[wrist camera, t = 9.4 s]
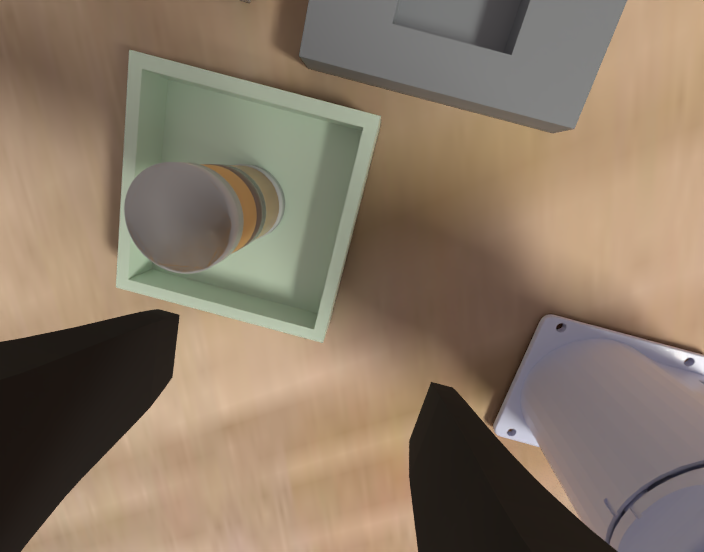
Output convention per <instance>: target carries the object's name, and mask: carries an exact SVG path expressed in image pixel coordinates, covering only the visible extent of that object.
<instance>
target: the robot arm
mask: <svg viewBox="0 0 704 552" xmlns="http://www.w3.org/2000/svg"><path fill="white" fill-rule="evenodd" d="M560 323H563V326H562V327H561V328H560V329H556V326H557V325H558V324H560ZM178 324H179V315H178V314H174V313H171V312H167V311H163V310H159V309H156V310H149V311H144V312H139V313H134V314H130V315H125V316H121V317H117V318H112V319H108V320H104V321H100V322H95V323H91V324H87V325H83V326H79V327H74V328H69V329H64V330H60V331H55V332H50V333H45V334H40V335H35V336H31V337H26V338H20V339H15V340H9V341H3V342H0V552H21V551H22V549H23V548H24V547H25V545H26V544H27V543H28V542H29V540H30V539H31V538H32V537H33V535H34V534H35V533H36V532H37V530H38V529H39V528H40V527H41V526H42V524H43V523H44V522H45V521H46V519H47V518H48V517H49V516H50V515H51V513H52V512H53V511H54V510H55V508H56V507H57V506H58V505H59V504H60V502H61V501H62V500H63V499H64V497H65V496H66V495H67V494H68V493H69V492H70V491H71V490H72V489H73V487H74V486H75V485H76V484H77V483H78V482H79V481H80V480H81V479H82V478H83V477H84V476H85V474H86V473H87V472H88V471H89V470H90V469H91V468H92V467H93V466H94V465H95V464H96V463H97V462H98V461H99V460H100V459H101V458H102V457H103V456H104V455H105V454H106V453H107V452H108V451H109V450H110V449H111V448H112V447H113V446H114V445H115V444H116V443H117V442H118V440H119V439H120V438H121V437H122V436H123V435H124V434H125V433H126V432H127V431H128V430H129V429H130V428H131V427H132V426H133V425H134V424H135V423H136V422H137V421H138V420H139V419H140V418H141V417H142V416H143V414H144V413H145V412H146V411H147V410H148V409H149V408H150V407H151V406H152V404H153V403H154V402H155V400H156V399H157V398H158V396H159V395H160V394H161V392H162V391H163V390H164V388H165V387H166V385H167V384H168V383H169V381H170V380H171V378H172V376H173V367H174V358H175V350H176V341H177V332H178ZM687 358H688V360H687V361H686V362H684V361H685V360H686V359H687ZM493 429H494V431H495V433H496V434H497V435H498V436H501V437H504V438H508V439H512V440H515V441H519V442H523V443H527V444H530V445H534V446H538V447H540V448H541V450H542V452H543V454H544V455H545V457H546V459H547V461H548V462H549V464H550V466H551V468H552V470H553V471H554V473H555V475H556V477H557V478H558V480H559V482H560V484H561V486H562V487H563V489H564V491H565V493H566V494H567V496H568V498H569V500H570V502H571V503H572V505H573V507H574V509H575V510H576V512H577V514H578V516H579V518H580V519H581V521H580V520H579V519H578V518H577V517H576V516H575V515H574V514H573V513H571V512H570V511H569V510H568V509H567V508H566V507H565V506H564V505H563V504H562V503H561V502H559V501H558V500H557V499H556V498H555V497H554V496H553V495H552V494H551V493H550V492H548V491H547V490H546V489H545V488H544V487H543V486H542V485H541V484H540V483H539V482H538V481H537V480H536V479H535V478H534V477H533V476H532V475H531V474H530V473H529V472H528V471H527V470H526V469H525V468H524V467H523V465H522V464H521V463H520V462H519V461H518V460H517V459H516V458H515V457H514V456H513V455H512V454H511V453H510V452H509V451H508V450H507V448H506V447H505V446H504V445H503V444H502V443H501V442H500V441H499V440H498V439H497V437H496V436H495V435H494V434H493V433H492V432H491V431H490V429H489V428H488V427H487V426H486V425H485V424H484V422H483V421H482V420H481V419H480V418H479V417H478V415H477V414H476V413H475V412H474V411H473V410H472V408H471V407H470V406H469V405H468V404H467V403H466V401H465V400H464V399H463V398H462V397H461V396H460V395H459V394H458V392H457V391H456V390H455V389H454V388H452V387H448V386H444V385H441V384H437V383H433V382H431V384H430V387H429V389H428V392H427V395H426V398H425V400H424V403H423V406H422V408H421V411H420V414H419V416H418V419H417V422H416V424H415V427H414V430H413V432H412V435H411V438H410V441H409V478H410V488H411V496H412V505H413V513H414V521H415V529H416V537H417V545H418V552H704V355H703V354H699V353H695V352H692V351H688V350H684V349H680V348H677V347H673V346H669V345H665V344H662V343H658V342H654V341H650V340H647V339H643V338H639V337H635V336H632V335H628V334H624V333H621V332H617V331H613V330H609V329H606V328H602V327H598V326H594V325H591V324H587V323H583V322H579V321H576V320H572V319H568V318H564V317H561V316H557V315H553V314H548V315H545V316H544V317H542V319H541V320H540V322H539V324H538V327H537V329H536V331H535V333H534V335H533V338H532V340H531V342H530V344H529V347H528V349H527V351H526V353H525V355H524V358H523V360H522V362H521V364H520V366H519V369H518V371H517V373H516V375H515V378H514V380H513V382H512V384H511V386H510V389H509V391H508V393H507V395H506V397H505V400H504V402H503V404H502V406H501V409H500V411H499V413H498V415H497V417H496V420H495V422H494V424H493ZM509 429H513V430H512V431H508V430H509Z"/></svg>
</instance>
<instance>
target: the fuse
mask: <svg viewBox="0 0 704 552" xmlns="http://www.w3.org/2000/svg"><path fill="white" fill-rule="evenodd" d="M284 211H285V197H284V193H283V190H282V187H281V185H280V184H279V182H278V181H277V179H276V178H275V177H274V176H273V175H272V174H271V173H270V172H268V171H267V170H265V169H263V168H261V167H259V166H255V165H248V164H236V165H224V164H196V163H186V162H164V163H158V164H155V165H152V166H150V167H148V168H146V169H145V170H143V171H142V172H141V173H140V174H138V175H137V176H136V178H135V179H134V180H133V181H132V183H131V185H130V187H129V189H128V191H127V194H126V198H125V204H124V216H125V222H126V226H127V229H128V232H129V234H130V236H131V238H132V240H133V242H134V244H135V245H136V246H137V248H138V249H139V250H140V251H141V253H142V254H143V255H144V256H145V257H146V258H148V259H149V260H150V261H151V262H153V263H154V264H156V265H157V266H159V267H161V268H163V269H166V270H168V271H171V272H175V273H181V274H191V273H198V272H202V271H204V270H207V269H209V268H210V267H212V266H214V265H216V264H217V263H219V262H221V261H222V260H224V259H225V258H227V257H228V256H229V255H230V254H232V253H234V252H236V251H238V250H240V249H241V248H243V247H245V246H246V245H248V244H250V243H251V242H252V241H254V240H256V239H259V238H261V237H263V236H265V235H267V234H268V233H270V232H272V231H273V230H274V229H275V228H276V227H277V226H278V225H279V223H280V222H281V220H282V218H283V215H284Z"/></svg>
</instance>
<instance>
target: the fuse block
mask: <svg viewBox="0 0 704 552" xmlns="http://www.w3.org/2000/svg"><path fill="white" fill-rule="evenodd" d="M626 2H627V0H309V3H308V9H307V14H306V20H305V25H304V31H303V36H302V42H301V47H300V53H299V57H300V58H301V60H302V61H303V62H304V64H305V65H306V66H307V68H308V69H312V70H316V71H319V72H323V73H327V74H331V75H335V76H338V77H342V78H346V79H350V80H353V81H357V82H361V83H365V84H369V85H372V86H376V87H380V88H384V89H387V90H391V91H395V92H399V93H403V94H406V95H410V96H414V97H418V98H421V99H425V100H429V101H433V102H437V103H440V104H444V105H448V106H452V107H455V108H459V109H463V110H467V111H471V112H474V113H478V114H482V115H486V116H489V117H493V118H497V119H501V120H505V121H508V122H512V123H516V124H520V125H523V126H527V127H531V128H535V129H539V130H542V131H546V132H550V133H557V132H562V131H567V130H571V129H574V128H575V126H576V124H577V121H578V119H579V116H580V114H581V111H582V109H583V107H584V104H585V102H586V99H587V97H588V94H589V92H590V90H591V87H592V85H593V82H594V80H595V77H596V75H597V72H598V70H599V68H600V65H601V63H602V60H603V58H604V55H605V53H606V51H607V48H608V46H609V43H610V41H611V38H612V36H613V34H614V31H615V29H616V26H617V24H618V21H619V19H620V16H621V14H622V12H623V9H624V7H625V4H626Z"/></svg>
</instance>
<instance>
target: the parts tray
mask: <svg viewBox="0 0 704 552" xmlns="http://www.w3.org/2000/svg"><path fill="white" fill-rule="evenodd" d="M380 125H381V116H378V115H375V114H371V113H367V112H363V111H359V110H356V109H352V108H348V107H344V106H341V105H337V104H333V103H329V102H326V101H322V100H318V99H314V98H310V97H307V96H303V95H299V94H295V93H292V92H288V91H284V90H280V89H276V88H273V87H269V86H265V85H261V84H258V83H254V82H250V81H246V80H243V79H239V78H235V77H231V76H227V75H224V74H220V73H216V72H212V71H209V70H205V69H201V68H197V67H193V66H190V65H186V64H182V63H178V62H175V61H171V60H167V59H163V58H160V57H156V56H152V55H148V54H144V53H141V52H137V51H133V50H129V62H128V80H127V98H126V116H125V133H124V151H123V169H122V187H121V205H120V223H119V241H118V259H117V277H116V287H117V288H120V289H124V290H128V291H132V292H135V293H139V294H143V295H147V296H150V297H154V298H158V299H161V300H165V301H169V302H173V303H176V304H180V305H184V306H187V307H191V308H195V309H199V310H202V311H206V312H210V313H213V314H217V315H221V316H225V317H228V318H232V319H236V320H239V321H243V322H247V323H251V324H254V325H258V326H262V327H266V328H269V329H273V330H277V331H280V332H284V333H288V334H292V335H295V336H299V337H303V338H306V339H310V340H314V341H318V342H321V343H323V341H324V338H325V335H326V333H327V330H328V327H329V324H330V320H331V316H332V312H333V308H334V305H335V301H336V297H337V293H338V289H339V285H340V281H341V277H342V273H343V270H344V266H345V262H346V258H347V254H348V250H349V246H350V242H351V238H352V235H353V231H354V227H355V223H356V219H357V215H358V211H359V207H360V203H361V199H362V196H363V192H364V188H365V184H366V180H367V176H368V172H369V168H370V164H371V161H372V157H373V153H374V149H375V145H376V141H377V137H378V133H379V129H380ZM164 162H186V163H196V164H224V165H236V164H248V165H255V166H259V167H261V168H263V169H265V170H267V171H268V172H270V173H271V174H272V175H273V176H274V177H275V178H276V179H277V181H278V182H279V184H280V185H281V187H282V190H283V193H284V197H285V211H284V215H283V218H282V220H281V222H280V223H279V225H278V226H277V227H276V228H275V229H274V230H273V231H272V232H270V233H268V234H267V235H265V236H263V237H261V238H259V239H256V240H254V241H252V242H251V243H250V244H248V245H246V246H245V247H243V248H241V249H240V250H238V251H236V252H234V253H232V254H230V255H229V256H228V257H227V258H225V259H224V260H222V261H221V262H219V263H217V264H216V265H214V266H212V267H210V268H209V269H207V270H204V271H202V272H198V273H191V274H181V273H175V272H171V271H168V270H166V269H163V268H161V267H159V266H157V265H156V264H154V263H153V262H151V261H150V260H149V259H148V258H146V257H145V256H144V255H143V254H142V253H141V251H140V250H139V249H138V248H137V246H136V245H135V244H134V242H133V240H132V238H131V236H130V234H129V232H128V229H127V226H126V222H125V216H124V204H125V198H126V194H127V191H128V189H129V187H130V185H131V183H132V181H133V180H134V179H135V178H136V176H137V175H138V174H140V173H141V172H142V171H143V170H145V169H146V168H148V167H150V166H152V165H155V164H158V163H164Z"/></svg>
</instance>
